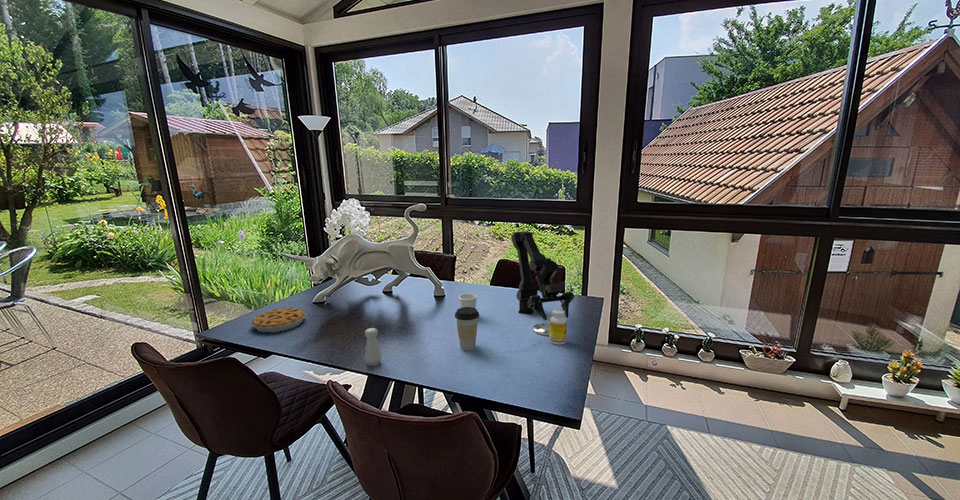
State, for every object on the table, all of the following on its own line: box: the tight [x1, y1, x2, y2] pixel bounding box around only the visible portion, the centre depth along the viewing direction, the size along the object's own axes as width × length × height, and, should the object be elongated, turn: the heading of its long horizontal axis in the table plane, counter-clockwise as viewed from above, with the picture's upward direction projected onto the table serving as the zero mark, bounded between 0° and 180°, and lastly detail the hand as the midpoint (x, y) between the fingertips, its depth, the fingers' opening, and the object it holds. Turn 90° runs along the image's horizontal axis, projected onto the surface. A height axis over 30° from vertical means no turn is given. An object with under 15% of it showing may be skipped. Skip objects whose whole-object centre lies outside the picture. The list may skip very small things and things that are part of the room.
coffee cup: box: [454, 307, 480, 351], centre depth 149 cm, size 9×9×15 cm
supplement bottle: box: [548, 308, 568, 346], centre depth 152 cm, size 7×7×13 cm
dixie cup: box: [458, 293, 478, 308], centre depth 180 cm, size 8×8×10 cm
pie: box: [250, 307, 307, 333], centre depth 176 cm, size 22×22×5 cm
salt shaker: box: [364, 327, 382, 367], centre depth 138 cm, size 6×6×13 cm
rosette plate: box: [532, 322, 550, 337], centre depth 164 cm, size 11×11×1 cm
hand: (556, 318), depth 153 cm, fingers open, 9 cm apart
